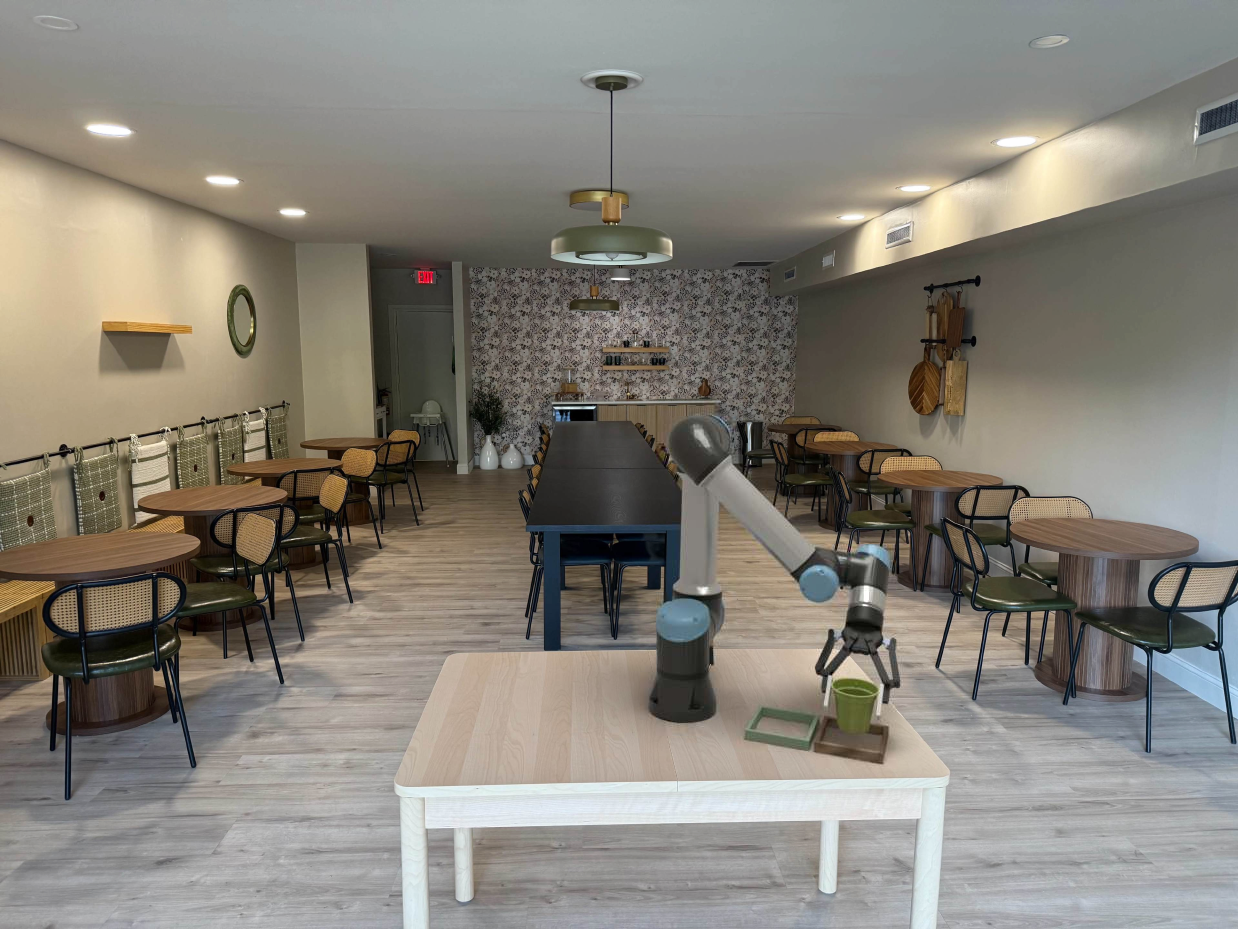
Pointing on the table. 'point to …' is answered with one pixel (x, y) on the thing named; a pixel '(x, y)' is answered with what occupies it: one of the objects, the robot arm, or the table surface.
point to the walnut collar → (847, 750)
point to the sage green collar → (778, 738)
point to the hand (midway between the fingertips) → (852, 713)
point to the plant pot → (854, 703)
